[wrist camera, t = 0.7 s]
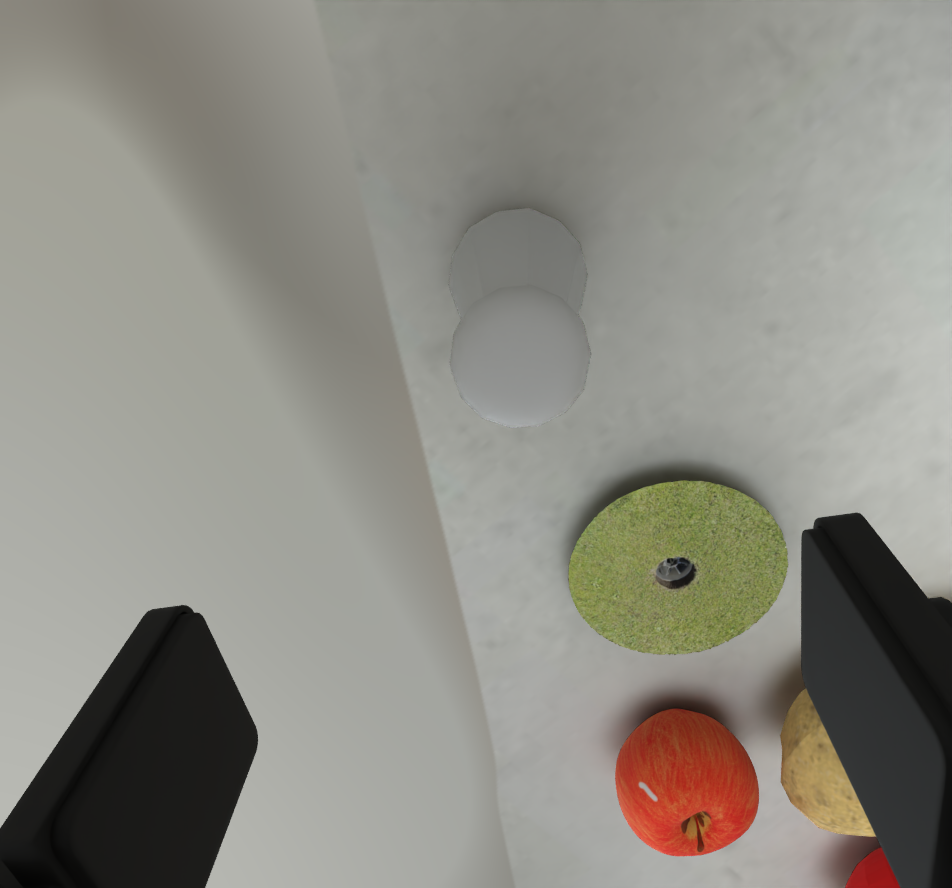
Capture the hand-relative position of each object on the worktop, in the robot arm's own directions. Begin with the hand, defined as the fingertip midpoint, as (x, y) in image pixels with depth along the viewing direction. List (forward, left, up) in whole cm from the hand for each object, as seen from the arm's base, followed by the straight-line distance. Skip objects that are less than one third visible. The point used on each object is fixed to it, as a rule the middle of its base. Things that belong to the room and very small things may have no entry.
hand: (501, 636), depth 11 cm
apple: (+21, -23, -24) cm, 40 cm away
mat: (+14, -11, -24) cm, 30 cm away
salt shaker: (0, 0, -24) cm, 24 cm away
